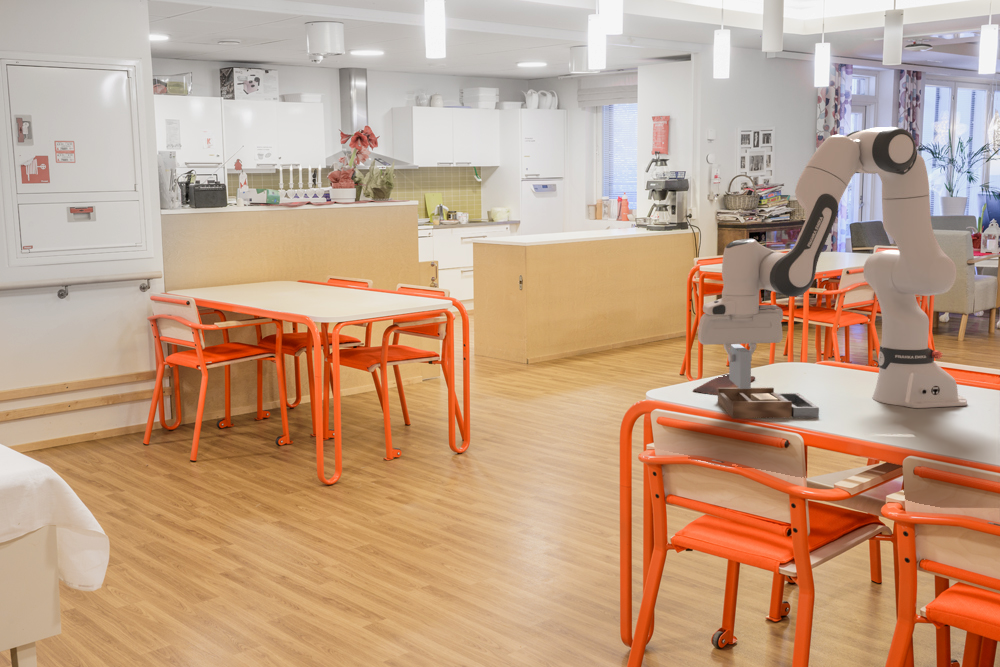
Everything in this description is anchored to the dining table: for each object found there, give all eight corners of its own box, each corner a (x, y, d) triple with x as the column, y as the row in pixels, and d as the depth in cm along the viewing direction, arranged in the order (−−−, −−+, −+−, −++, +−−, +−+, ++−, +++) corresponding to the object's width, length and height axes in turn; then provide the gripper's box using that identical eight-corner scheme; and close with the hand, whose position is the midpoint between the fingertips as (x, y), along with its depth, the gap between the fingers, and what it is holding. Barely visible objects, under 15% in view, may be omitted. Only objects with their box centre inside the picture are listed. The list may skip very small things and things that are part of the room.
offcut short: (768, 401, 237) (768, 393, 237) (778, 407, 231) (778, 399, 230) (750, 401, 237) (750, 393, 237) (760, 407, 230) (760, 399, 230)
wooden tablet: (721, 391, 249) (687, 383, 255) (720, 399, 249) (686, 391, 255) (758, 376, 270) (725, 369, 276) (757, 383, 271) (724, 376, 276)
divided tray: (772, 402, 242) (772, 387, 242) (791, 418, 225) (791, 401, 225) (717, 403, 242) (718, 387, 242) (732, 418, 226) (733, 402, 225)
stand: (797, 402, 242) (797, 393, 242) (818, 417, 225) (818, 407, 225) (774, 402, 242) (774, 393, 242) (793, 418, 225) (793, 407, 225)
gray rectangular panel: (739, 378, 239) (739, 344, 238) (750, 388, 227) (751, 352, 226) (729, 379, 239) (729, 344, 238) (740, 389, 227) (740, 352, 226)
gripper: (779, 303, 233) (778, 357, 235) (696, 305, 234) (696, 360, 236) (786, 306, 227) (785, 362, 229) (701, 308, 227) (701, 364, 229)
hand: (739, 361), depth 232 cm, fingers closed on gray rectangular panel, 2 cm apart
